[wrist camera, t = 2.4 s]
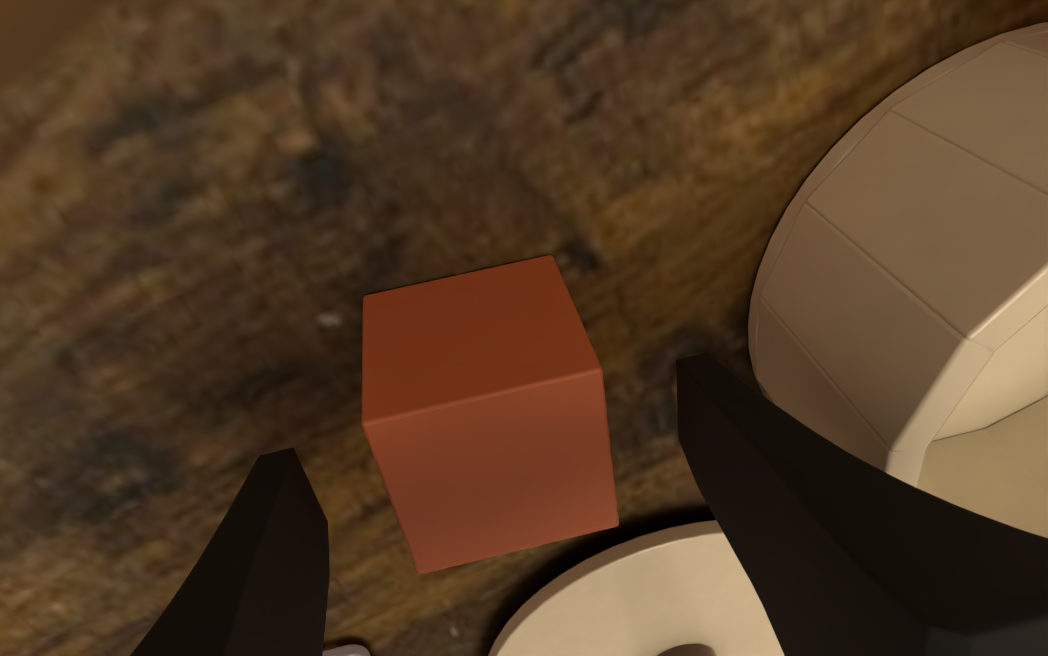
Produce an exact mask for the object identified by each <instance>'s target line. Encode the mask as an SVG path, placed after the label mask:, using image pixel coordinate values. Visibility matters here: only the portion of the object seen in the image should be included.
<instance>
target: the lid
mask: <svg viewBox="0 0 1048 656" xmlns="http://www.w3.org/2000/svg"><path fill="white" fill-rule="evenodd" d="M488 656H784V653H783V651H782V649H781V646H780V644H779V642H778V639H777V637H776V635H775V633H774V630H773V628H772V626H771V623H770V621H769V619H768V616H767V614H766V612H765V609H764V607H763V605H762V603H761V601H760V599H759V597H758V595H757V593H756V591H755V589H754V587H753V585H752V583H751V581H750V580H749V578H748V576H747V574H746V572H745V571H744V569H743V567H742V565H741V563H740V562H739V560H738V558H737V556H736V554H735V553H734V551H733V549H732V547H731V546H730V544H729V542H728V540H727V538H726V537H725V535H724V533H723V531H722V529H721V528H720V526H719V524H718V522H717V520H713V521H704V522H696V523H691V524H686V525H681V526H676V527H671V528H667V529H663V530H660V531H656V532H653V533H649V534H646V535H643V536H639V537H637V538H634V539H631V540H629V541H626V542H624V543H621V544H618V545H616V546H613V547H611V548H609V549H607V550H605V551H602V552H600V553H598V554H596V555H594V556H592V557H590V558H588V559H586V560H584V561H582V562H581V563H579V564H577V565H576V566H574V567H572V568H571V569H569V570H567V571H565V572H564V573H562V574H561V575H559V576H558V577H557V578H555V579H554V580H552V581H551V582H550V583H548V584H547V585H545V586H544V587H543V588H541V589H540V590H539V591H538V592H537V593H535V594H534V595H533V596H532V597H531V598H530V599H529V600H528V601H527V602H525V603H524V604H523V605H522V606H521V607H520V608H519V609H518V611H517V612H516V613H515V614H514V615H513V616H512V617H511V618H510V620H509V621H508V622H507V623H506V625H505V626H504V628H503V629H502V630H501V632H500V633H499V635H498V636H497V638H496V639H495V642H494V644H493V646H492V648H491V650H490V652H489V655H488Z"/></svg>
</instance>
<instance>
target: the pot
mask: <svg viewBox="0 0 1048 656" xmlns="http://www.w3.org/2000/svg"><path fill="white" fill-rule="evenodd" d="M748 340H749V353H750V358H751V362H752V367H753V372H754V374H755V377H756V379H757V382H758V384H759V386H760V389H761V391H762V393H763V394H764V396H765V397H766V398H767V399H769V400H770V401H771V402H773V403H774V404H776V405H777V406H778V407H780V408H781V409H783V410H784V411H785V412H787V413H788V414H790V415H791V416H793V417H794V418H795V419H797V420H798V421H800V422H801V423H803V424H804V425H806V426H807V427H809V428H810V429H812V430H813V431H815V432H816V433H818V434H819V435H821V436H822V437H824V438H826V439H827V440H829V441H830V442H832V443H834V444H835V445H837V446H838V447H840V448H842V449H843V450H845V451H847V452H849V453H850V454H852V455H854V456H855V457H857V458H859V459H861V460H863V461H865V462H867V463H869V464H870V465H872V466H874V467H876V468H878V469H880V470H882V471H884V472H885V473H887V474H889V475H891V476H893V477H895V478H897V479H899V480H901V481H903V482H906V483H908V484H910V485H912V486H914V487H916V488H918V489H921V490H923V491H925V492H927V493H930V494H932V495H934V496H936V497H939V498H941V499H943V500H945V501H948V502H950V503H952V504H955V505H957V506H960V507H962V508H965V509H967V510H970V511H972V512H975V513H977V514H980V515H982V516H985V517H988V518H991V519H993V520H996V521H999V522H1002V523H1004V524H1007V525H1010V526H1012V527H1015V528H1018V529H1021V530H1024V531H1027V532H1030V533H1033V534H1036V535H1039V536H1043V537H1046V538H1048V22H1046V23H1039V24H1035V25H1032V26H1028V27H1024V28H1021V29H1017V30H1014V31H1010V32H1006V33H1003V34H1000V35H997V36H995V37H992V38H990V39H988V40H985V41H983V42H980V43H978V44H975V45H973V46H970V47H968V48H966V49H963V50H962V51H960V52H958V53H956V54H954V55H952V56H950V57H949V58H947V59H945V60H943V61H941V62H939V63H937V64H936V65H934V66H932V67H930V68H928V69H927V70H925V71H924V72H922V73H921V74H919V75H918V76H916V77H915V78H913V79H912V80H910V81H909V82H907V83H906V84H905V85H903V86H902V87H900V88H899V89H897V90H896V91H894V92H893V93H892V94H890V95H889V96H888V97H887V98H886V99H884V100H883V101H882V102H881V103H880V104H878V105H877V106H876V107H875V108H873V109H872V110H871V111H870V112H869V113H867V114H866V115H865V116H864V117H863V118H861V119H860V120H859V121H858V122H857V123H856V124H855V125H854V126H853V127H852V128H851V129H850V130H849V131H848V132H847V133H846V134H845V135H844V136H843V137H842V138H841V139H840V140H839V141H838V142H837V143H836V144H835V145H834V146H833V147H832V148H831V150H830V151H829V152H828V153H827V154H826V156H825V157H824V158H823V159H822V161H821V162H820V163H819V164H818V165H817V167H816V168H815V169H814V170H813V171H812V173H811V174H810V175H809V176H808V177H807V179H806V180H805V182H804V183H803V185H802V186H801V188H800V189H799V191H798V192H797V194H796V195H795V197H794V198H793V200H792V201H791V203H790V204H789V206H788V207H787V209H786V210H785V212H784V214H783V216H782V218H781V220H780V222H779V224H778V225H777V227H776V229H775V231H774V233H773V235H772V237H771V239H770V241H769V243H768V246H767V249H766V251H765V254H764V256H763V259H762V261H761V264H760V266H759V269H758V272H757V276H756V280H755V284H754V288H753V292H752V296H751V302H750V311H749V319H748Z"/></svg>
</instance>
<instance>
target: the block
mask: <svg viewBox="0 0 1048 656" xmlns="http://www.w3.org/2000/svg"><path fill="white" fill-rule="evenodd" d="M362 427H363V430H364V432H365V435H366V438H367V440H368V443H369V446H370V448H371V451H372V454H373V456H374V459H375V461H376V464H377V467H378V469H379V472H380V475H381V477H382V480H383V483H384V485H385V488H386V491H387V493H388V496H389V499H390V501H391V504H392V507H393V509H394V512H395V514H396V517H397V520H398V522H399V525H400V528H401V530H402V533H403V536H404V538H405V541H406V544H407V546H408V549H409V552H410V554H411V557H412V560H413V562H414V565H415V567H416V570H417V572H418V573H419V574H424V573H428V572H432V571H436V570H440V569H444V568H449V567H453V566H457V565H461V564H465V563H469V562H473V561H477V560H481V559H486V558H490V557H494V556H498V555H502V554H506V553H510V552H514V551H518V550H522V549H527V548H531V547H535V546H539V545H543V544H547V543H551V542H555V541H559V540H564V539H568V538H572V537H576V536H580V535H584V534H588V533H592V532H596V531H601V530H605V529H609V528H613V527H616V526H618V525H619V517H618V508H617V499H616V490H615V481H614V471H613V462H612V453H611V444H610V435H609V425H608V416H607V407H606V398H605V388H604V379H603V370H602V367H601V365H600V363H599V360H598V358H597V356H596V354H595V351H594V349H593V347H592V344H591V342H590V340H589V337H588V335H587V333H586V331H585V328H584V326H583V324H582V321H581V319H580V317H579V314H578V312H577V310H576V308H575V305H574V303H573V301H572V298H571V296H570V294H569V291H568V289H567V287H566V285H565V282H564V280H563V278H562V275H561V273H560V271H559V268H558V266H557V264H556V262H555V259H554V257H553V256H552V255H547V256H543V257H538V258H534V259H529V260H525V261H520V262H515V263H511V264H506V265H502V266H497V267H493V268H488V269H483V270H479V271H474V272H470V273H465V274H461V275H456V276H452V277H447V278H442V279H438V280H433V281H429V282H424V283H420V284H415V285H411V286H406V287H401V288H397V289H392V290H388V291H383V292H379V293H374V294H370V295H366V296H364V297H363V344H362Z"/></svg>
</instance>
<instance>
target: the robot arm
mask: <svg viewBox="0 0 1048 656" xmlns="http://www.w3.org/2000/svg"><path fill="white" fill-rule="evenodd" d="M676 371H677V403H678V435H679V441H680V443H681V446H682V449H683V451H684V454H685V456H686V459H687V461H688V464H689V466H690V469H691V471H692V474H693V476H694V478H695V481H696V483H697V486H698V487H699V489H700V491H701V493H702V495H703V497H704V499H705V500H706V502H707V504H708V506H709V508H710V510H711V511H712V513H713V515H714V517H715V519H716V520H717V522H718V524H719V526H720V528H721V529H722V531H723V533H724V535H725V537H726V538H727V540H728V542H729V544H730V546H731V547H732V549H733V551H734V553H735V554H736V556H737V558H738V560H739V562H740V563H741V565H742V567H743V569H744V571H745V572H746V574H747V576H748V578H749V580H750V581H751V583H752V585H753V587H754V589H755V591H756V593H757V595H758V597H759V599H760V601H761V603H762V605H763V607H764V609H765V612H766V614H767V616H768V619H769V621H770V623H771V626H772V628H773V630H774V633H775V635H776V637H777V639H778V642H779V644H780V646H781V649H782V651H783V653H784V656H1048V538H1046V537H1043V536H1039V535H1036V534H1033V533H1030V532H1027V531H1024V530H1021V529H1018V528H1015V527H1012V526H1010V525H1007V524H1004V523H1002V522H999V521H996V520H993V519H991V518H988V517H985V516H982V515H980V514H977V513H975V512H972V511H970V510H967V509H965V508H962V507H960V506H957V505H955V504H952V503H950V502H948V501H945V500H943V499H941V498H939V497H936V496H934V495H932V494H930V493H927V492H925V491H923V490H921V489H918V488H916V487H914V486H912V485H910V484H908V483H906V482H903V481H901V480H899V479H897V478H895V477H893V476H891V475H889V474H887V473H885V472H884V471H882V470H880V469H878V468H876V467H874V466H872V465H870V464H869V463H867V462H865V461H863V460H861V459H859V458H857V457H855V456H854V455H852V454H850V453H849V452H847V451H845V450H843V449H842V448H840V447H838V446H837V445H835V444H834V443H832V442H830V441H829V440H827V439H826V438H824V437H822V436H821V435H819V434H818V433H816V432H815V431H813V430H812V429H810V428H809V427H807V426H806V425H804V424H803V423H801V422H800V421H798V420H797V419H795V418H794V417H793V416H791V415H790V414H788V413H787V412H785V411H784V410H783V409H781V408H780V407H778V406H777V405H776V404H774V403H773V402H771V401H770V400H769V399H767V398H766V397H765V396H763V395H762V394H761V393H759V392H758V391H757V390H755V389H754V388H753V387H751V386H750V385H749V384H747V383H746V382H745V381H744V380H742V379H741V378H740V377H738V376H737V375H736V374H735V373H733V372H732V371H731V370H730V369H728V368H727V367H726V366H724V365H723V364H722V363H721V362H719V361H718V360H717V359H716V358H714V357H713V356H711V355H710V354H709V353H705V354H700V355H696V356H692V357H687V358H683V359H679V360H676ZM329 574H330V572H329V540H328V521H327V519H326V517H325V515H324V513H323V510H322V508H321V506H320V504H319V502H318V500H317V497H316V495H315V493H314V491H313V489H312V487H311V485H310V482H309V480H308V478H307V476H306V474H305V472H304V470H303V467H302V465H301V463H300V461H299V459H298V457H297V455H296V452H295V450H294V448H290V449H286V450H281V451H277V452H273V453H268V454H264V455H260V456H259V458H258V459H257V461H256V462H255V464H254V466H253V467H252V469H251V471H250V473H249V474H248V476H247V478H246V480H245V482H244V483H243V485H242V487H241V489H240V491H239V492H238V494H237V496H236V498H235V499H234V501H233V503H232V505H231V506H230V508H229V510H228V512H227V513H226V515H225V517H224V519H223V520H222V522H221V524H220V525H219V527H218V529H217V530H216V532H215V534H214V535H213V537H212V539H211V540H210V542H209V544H208V545H207V547H206V549H205V550H204V552H203V554H202V555H201V557H200V558H199V560H198V562H197V563H196V565H195V566H194V568H193V569H192V571H191V572H190V574H189V575H188V577H187V578H186V580H185V581H184V583H183V584H182V586H181V587H180V589H179V590H178V592H177V593H176V595H175V596H174V598H173V599H172V601H171V602H170V603H169V605H168V606H167V608H166V609H165V610H164V612H163V613H162V615H161V616H160V617H159V619H158V620H157V622H156V623H155V624H154V626H153V627H152V628H151V630H150V631H149V632H148V633H147V635H146V636H145V637H144V639H143V640H142V641H141V642H140V644H139V645H138V646H137V647H136V649H135V650H134V651H133V653H132V654H131V655H130V656H371V655H370V653H369V651H368V650H367V649H366V648H365V647H363V646H361V645H357V644H350V645H345V646H341V647H337V648H333V649H329V650H325V651H323V642H324V631H325V620H326V609H327V598H328V587H329Z"/></svg>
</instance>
